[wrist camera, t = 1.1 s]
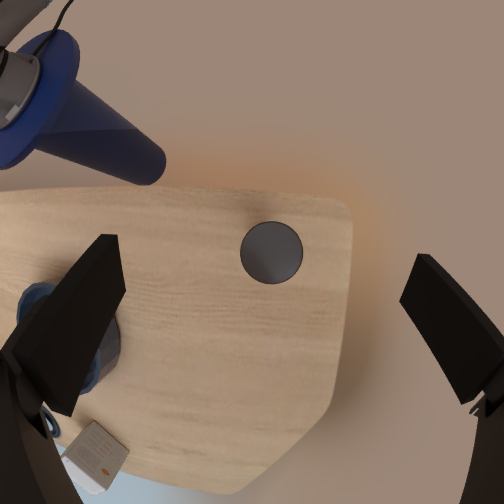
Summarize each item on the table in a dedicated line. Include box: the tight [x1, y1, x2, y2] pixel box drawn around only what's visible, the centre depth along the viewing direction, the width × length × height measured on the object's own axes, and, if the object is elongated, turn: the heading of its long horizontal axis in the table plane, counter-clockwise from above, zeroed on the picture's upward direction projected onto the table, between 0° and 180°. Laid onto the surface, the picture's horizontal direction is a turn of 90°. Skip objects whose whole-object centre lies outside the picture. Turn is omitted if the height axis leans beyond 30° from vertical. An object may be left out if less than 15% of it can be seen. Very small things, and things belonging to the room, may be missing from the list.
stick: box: [240, 221, 303, 284], centre depth 22 cm, size 3×3×20 cm
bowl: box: [17, 277, 120, 395], centre depth 30 cm, size 15×15×6 cm
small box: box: [60, 421, 129, 495], centre depth 29 cm, size 8×6×10 cm
